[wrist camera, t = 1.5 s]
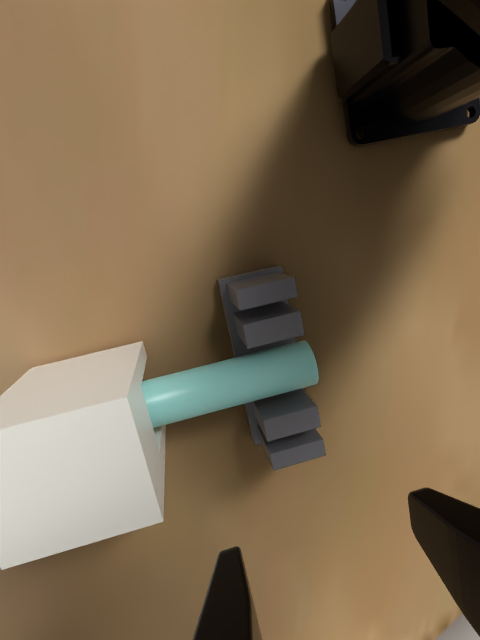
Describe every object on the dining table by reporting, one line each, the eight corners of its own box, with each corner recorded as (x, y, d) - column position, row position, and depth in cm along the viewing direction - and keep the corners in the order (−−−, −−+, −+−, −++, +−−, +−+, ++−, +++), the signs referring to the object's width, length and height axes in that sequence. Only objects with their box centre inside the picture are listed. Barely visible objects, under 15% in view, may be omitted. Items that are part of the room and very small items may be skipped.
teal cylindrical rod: (285, 305, 20) (318, 323, 15) (300, 387, 20) (335, 427, 16) (-279, 441, 17) (-440, 512, 12) (-230, 529, 17) (-362, 624, 13)
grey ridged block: (277, 265, 19) (300, 270, 16) (306, 422, 21) (332, 457, 18) (216, 279, 19) (227, 287, 15) (252, 437, 21) (267, 476, 17)
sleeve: (142, 341, 18) (126, 396, 12) (165, 426, 19) (163, 521, 13) (31, 367, 18) (-51, 442, 11) (61, 454, 19) (1, 569, 12)
